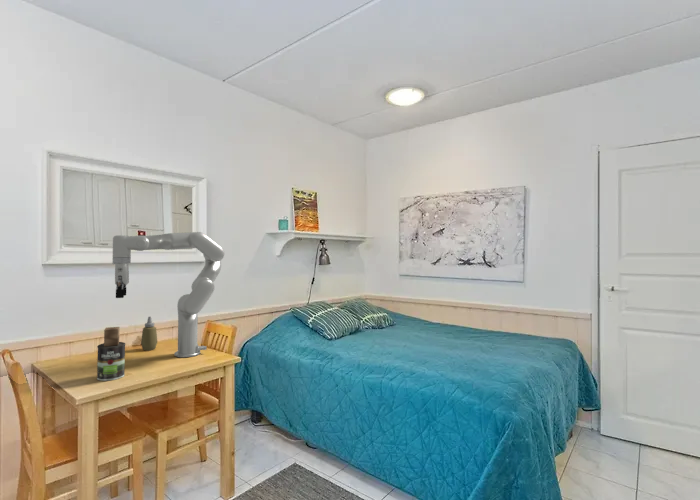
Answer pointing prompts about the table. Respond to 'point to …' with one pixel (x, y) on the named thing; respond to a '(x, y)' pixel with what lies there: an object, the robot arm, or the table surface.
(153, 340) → the squeeze bottle
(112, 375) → the coffee can
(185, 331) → the robot arm
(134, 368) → the table surface
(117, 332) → the walnut block
